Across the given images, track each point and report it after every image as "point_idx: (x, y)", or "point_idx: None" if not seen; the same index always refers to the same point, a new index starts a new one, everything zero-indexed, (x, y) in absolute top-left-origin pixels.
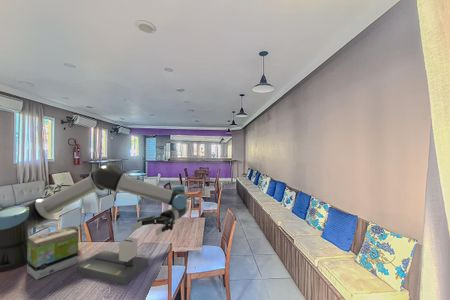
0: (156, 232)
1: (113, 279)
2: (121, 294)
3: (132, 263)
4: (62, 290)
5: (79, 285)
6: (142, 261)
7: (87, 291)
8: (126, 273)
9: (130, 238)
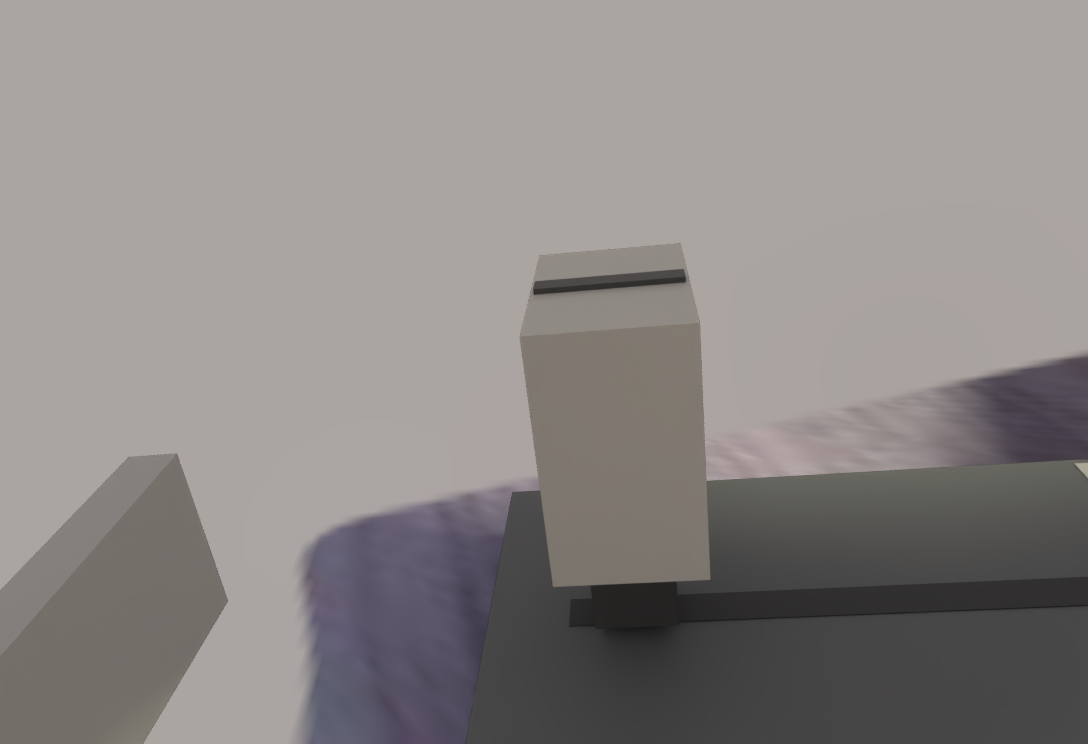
0: (189, 533)
1: None
2: (473, 497)
3: (594, 620)
4: (953, 413)
5: (906, 462)
6: (504, 728)
7: (761, 451)
8: (538, 522)
9: (643, 313)
